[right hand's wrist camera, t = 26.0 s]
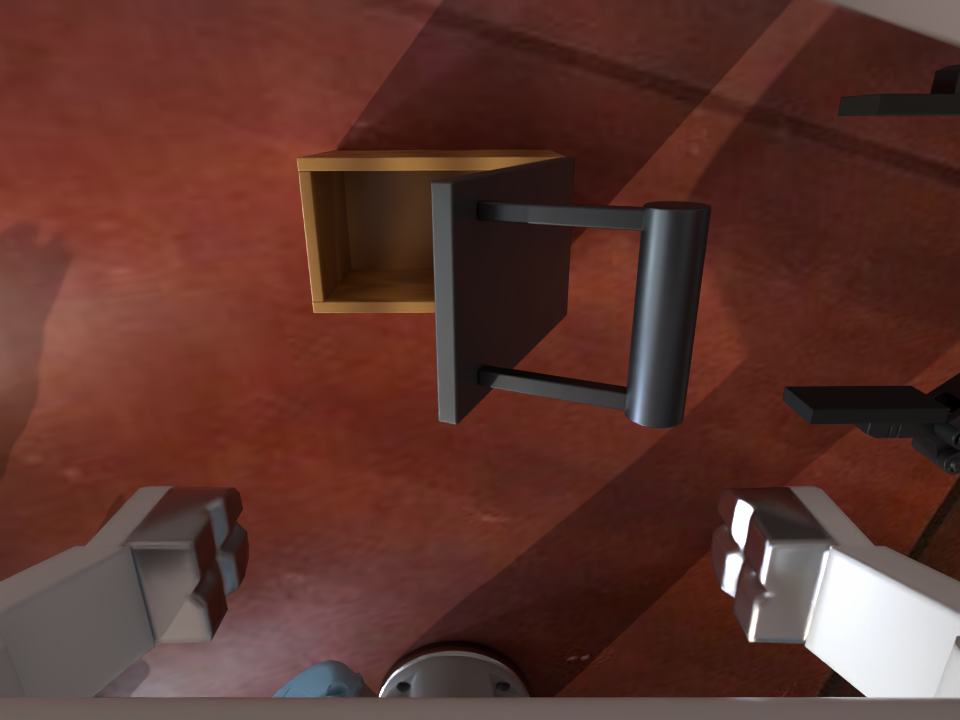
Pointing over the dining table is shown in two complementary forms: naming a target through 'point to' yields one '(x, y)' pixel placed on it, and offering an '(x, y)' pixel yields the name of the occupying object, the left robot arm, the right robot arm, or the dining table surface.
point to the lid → (556, 289)
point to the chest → (381, 223)
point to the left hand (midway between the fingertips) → (823, 268)
